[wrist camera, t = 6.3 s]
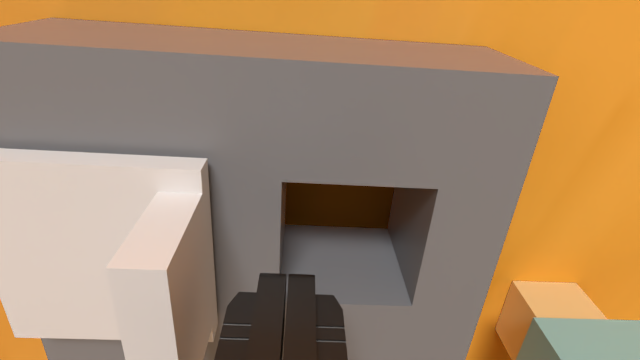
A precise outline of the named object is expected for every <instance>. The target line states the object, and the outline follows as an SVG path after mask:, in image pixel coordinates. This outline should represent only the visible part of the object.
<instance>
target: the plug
mask: <svg viewBox="0 0 640 360" xmlns="http://www.w3.org/2000/svg"><path fill="white" fill-rule="evenodd" d="M495 330H496V332H497V334H498V335H499V337H500V339H501V341H502V343H503V345H504V347H505V349H506V351H507V353H508V354H509V356H510V358H511V360H640V320H608V319H607V318H606V317H605V316H604V314H603V313H602V312H601V311H600V310H599V309H598V308H597V306H596V305H595V304H594V303H593V302H592V301H591V299H590V298H589V297H588V296H587V295H586V294H585V293H584V291H583V290H582V289H581V288H580V287H579V286H578V284H577V283H563V282H533V281H512V283H511V286H510V289H509V291H508V294H507V297H506V300H505V303H504V305H503V308H502V311H501V314H500V316H499V319H498V322H497V325H496V328H495Z"/></svg>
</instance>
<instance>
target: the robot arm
mask: <svg viewBox="0 0 640 360" xmlns="http://www.w3.org/2000/svg"><path fill="white" fill-rule="evenodd" d="M285 303H286V274H279V273H260V275H259V280H258V286H257V292H238V293H237V295H236V296H235V297H234V298H233V299H232V301H231V302H230V303H229V304H228V306H227V309H226V313H225V317H224V321H223V326H222V329H221V333H220V339H219V341H218V346H217V350H216V354H215V358H214V360H282V357H283V360H348V356H347V346H346V336H345V330H344V316H343V309H342V307H341V306H340V304H339V303H338V301H337V299H336V298H335V296H334V295H322V294H315V275H309V274H289V277H288V292H287V307H286V321H285ZM284 326H285V336H284ZM283 342H284V351H283Z"/></svg>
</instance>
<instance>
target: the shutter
mask: <svg viewBox="0 0 640 360" xmlns="http://www.w3.org/2000/svg"><path fill="white" fill-rule="evenodd" d="M0 299H1V301H2V304H3V307H4V309H5V312H6V315H7V317H8V320H9V323H10V325H11V328H12V330H13V333H14V336H15V337H16V338H59V339H101V340H121V342H122V347H123V351H124V356H125V360H204V356H205V352H206V348H207V345H208V342H213V341H214V337H215V333H216V329H217V325H218V317H217V302H216V286H215V270H214V255H213V239H212V223H211V208H210V192H209V176H208V161H207V158H191V157H170V156H150V155H129V154H109V153H88V152H68V151H47V150H27V149H6V148H0Z"/></svg>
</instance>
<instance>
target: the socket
mask: <svg viewBox="0 0 640 360" xmlns="http://www.w3.org/2000/svg"><path fill="white" fill-rule="evenodd" d="M558 78H559V76H556V75H554V74H551V73H549V72H546V71H544V70H542V69H539V68H537V67H534V66H532V65H529V64H527V63H525V62H522V61H520V60H517V59H515V58H513V57H510V56H508V55H505V54H503V53H500V52H498V51H496V50H493V49H491V48H488V47H484V46H469V45H454V44H438V43H423V42H408V41H393V40H378V39H363V38H348V37H333V36H318V35H303V34H288V33H273V32H258V31H243V30H228V29H213V28H198V27H183V26H168V25H152V24H137V23H122V22H107V21H92V20H77V19H62V18H47V19H41V20H36V21H30V22H24V23H19V24H13V25H7V26H2V27H0V148H6V149H27V150H47V151H68V152H88V153H109V154H129V155H150V156H170V157H191V158H207V161H208V176H209V192H210V208H211V223H212V239H213V255H214V270H215V286H216V302H217V317H218V325H217V329H216V333H215V337H214V341H213V342H208V345H207V348H206V352H205V356H204V360H214V358H215V354H216V350H217V346H218V341H219V339H220V333H221V329H222V326H223V321H224V317H225V313H226V309H227V306H228V304H229V303H230V302H231V301H232V299H233V298H234V297H235V296H236V295H237V293H238V292H257V286H258V280H259V275H260V273H279V274H286V303H285V321H286V307H287V292H288V277H289V274H309V275H315V294H322V295H334V296H335V298H336V299H337V301H338V303H339V304H340V306H341V307H342V309H343V316H344V330H345V336H346V346H347V356H348V360H465V359H466V356H467V353H468V350H469V347H470V344H471V341H472V338H473V335H474V332H475V329H476V326H477V323H478V320H479V317H480V314H481V311H482V308H483V305H484V302H485V299H486V296H487V292H488V289H489V286H490V283H491V280H492V277H493V274H494V271H495V268H496V265H497V262H498V259H499V256H500V253H501V250H502V247H503V244H504V241H505V238H506V235H507V232H508V229H509V226H510V223H511V220H512V217H513V214H514V211H515V208H516V205H517V202H518V199H519V196H520V193H521V190H522V187H523V184H524V181H525V177H526V174H527V171H528V168H529V165H530V162H531V159H532V156H533V153H534V150H535V147H536V144H537V141H538V138H539V135H540V132H541V129H542V126H543V123H544V120H545V117H546V114H547V111H548V108H549V105H550V102H551V99H552V96H553V93H554V90H555V87H556V84H557V81H558ZM287 182H293V183H315V184H336V185H358V186H380V187H394V193H393V199H392V205H391V211H390V216H389V222H388V228H387V229H386V228H361V227H336V226H311V225H286V224H285V213H286V183H287ZM284 336H285V326H284ZM41 340H42V343H43V346H44V349H45V352H46V355H47V357H48V360H125V356H124V351H123V347H122V342H121V340H101V339H59V338H41ZM283 351H284V342H283ZM282 360H283V357H282Z"/></svg>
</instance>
